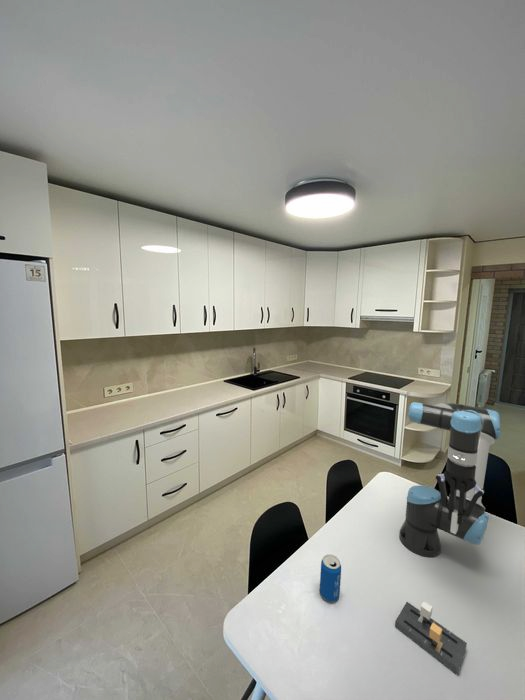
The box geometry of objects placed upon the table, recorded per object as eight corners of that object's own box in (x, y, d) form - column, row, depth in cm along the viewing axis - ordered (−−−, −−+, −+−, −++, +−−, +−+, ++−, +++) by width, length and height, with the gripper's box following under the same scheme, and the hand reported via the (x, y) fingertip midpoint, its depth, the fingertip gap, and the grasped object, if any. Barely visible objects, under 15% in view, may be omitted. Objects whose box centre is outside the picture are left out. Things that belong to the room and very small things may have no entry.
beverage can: (328, 607, 91) (330, 572, 90) (315, 590, 97) (317, 557, 96) (343, 598, 94) (345, 565, 93) (330, 582, 100) (332, 550, 99)
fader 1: (419, 619, 86) (421, 606, 86) (422, 613, 88) (423, 600, 88) (428, 625, 85) (429, 612, 84) (431, 620, 86) (432, 606, 86)
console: (394, 626, 86) (395, 620, 86) (406, 607, 92) (406, 601, 92) (457, 675, 75) (458, 668, 74) (466, 649, 81) (466, 642, 81)
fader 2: (428, 642, 80) (430, 628, 80) (431, 636, 82) (432, 622, 81) (438, 649, 78) (439, 635, 78) (440, 643, 80) (442, 629, 80)
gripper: (434, 457, 93) (427, 525, 95) (484, 473, 83) (476, 549, 86) (441, 450, 98) (435, 515, 100) (489, 465, 88) (481, 536, 91)
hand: (454, 531), depth 93 cm, fingers closed
